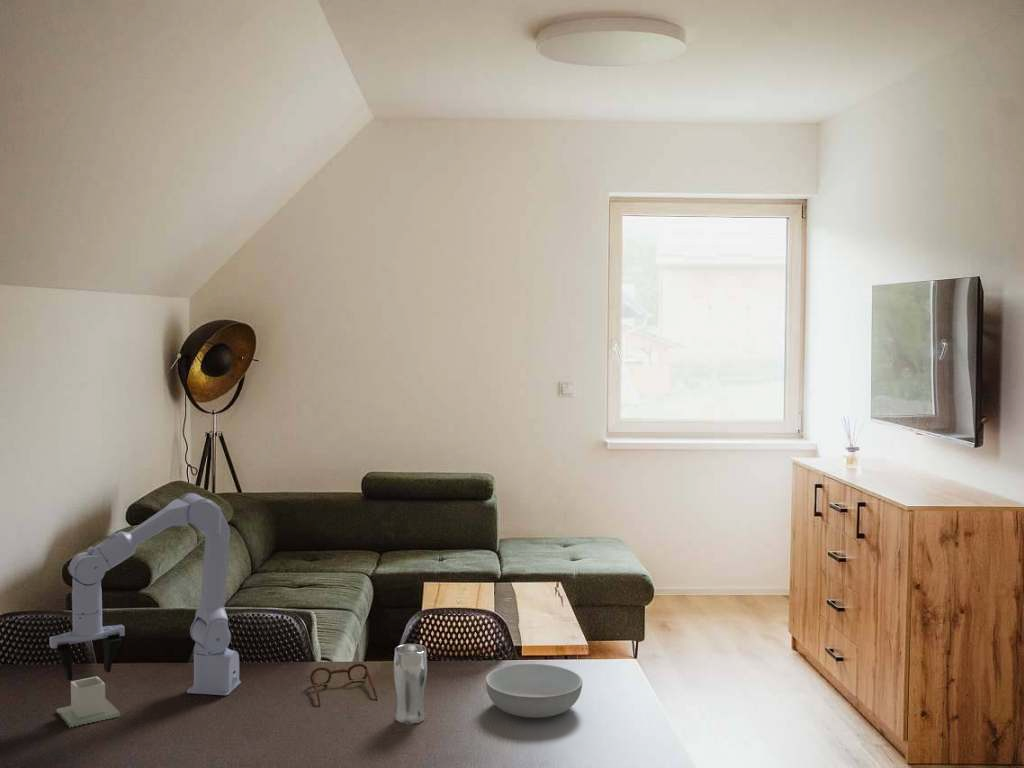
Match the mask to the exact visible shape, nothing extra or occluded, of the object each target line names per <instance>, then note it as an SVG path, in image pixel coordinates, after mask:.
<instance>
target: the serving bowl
mask: <svg viewBox="0 0 1024 768" xmlns="http://www.w3.org/2000/svg"><path fill="white" fill-rule="evenodd" d="M485 687H486V692H487V695H488V696H489V699H490V701H492V703H493V705H495V706H496V707H497V708H498V709H499V710H502V711H503V712H505V713H507V714H510V715H513V716H517V717H522V718H529V717H531V719H534V718H535V719H536V718H538V719H539V718H548V717H552V716H557V715H560V714H562V713H564V712H566V711H568V710H569V709H571V707H573V706H574V705H575V704H576V702H577V701H578V699H579V698H580V695H581V692H582V688H583V678H582V677H581V676H580V675H579V674H578V673H577V672H575V671H572V670H570V669H568V668H564V667H562V666H556V665H551V664H550V665H549V664H543V663H519V664H511V665H506V666H501V667H497V668H496V669H493V670H491V671H490V672H488V674H487V675H486V677H485Z"/></svg>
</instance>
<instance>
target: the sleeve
mask: <svg viewBox="0 0 1024 768" xmlns="http://www.w3.org/2000/svg"><path fill="white" fill-rule="evenodd" d="M105 698H106V683H105V682H104V681H103V680H102V679H101V678H100V677H99V676H92V677H91V676H90V677H88V678H80V679H78V680H77V679H75V680H70V706H71V710H72V711H73V712H74V713H75V714H76V716H77V717H78V718H80V717H84V716H89V715H93V714H98V713H102V712H106V706H105Z"/></svg>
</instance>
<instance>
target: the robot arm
mask: <svg viewBox="0 0 1024 768" xmlns="http://www.w3.org/2000/svg"><path fill="white" fill-rule="evenodd" d="M189 524H191V525H193V526H195V528H196V529H197V530H198V531H200V532H201V534H203V535H204V538H205V539H204V540H205V541H204V551H203V552H204V553H203V564H202V566H203V567H202V575H201V588H200V589H201V590H200V602H199V607H198V608H197V609H196V611H195V617H194V619H193V621H192V623H191V625H190V629H189V634H190V636H191V639H192V640H193V641H194V642H195V644H194V647H193V685H192V686H191V687H189V688H188V689H187V690H186V693H187V694H194V695H195V694H196V695H198V694H199V695H214V696H228V695H229V694H230V693H232V691H233V690H235V689H236V688H237V687H238V686H239V685H240V684H241V680H240V655H239V652H238V651H236V650H233V649H229V644H230V643H231V641H232V634H231V631H230V629H229V618H228V614H227V612H226V609H225V603H226V589H227V580H228V579H227V578H228V576H227V574H228V565H229V553H230V541H231V540H230V539H231V528H230V526H229V523H228V522H227V520H226V518H225V516H224V514H223V513H222V508H221V507H220V505H218V504H217V503H215V502H214V501H213V500H211V499H209V498H206V497H202V496H201V495H199V494H198V493H194V492H189V493H185V494H183V495H182V496H180V497H179V498H176V499H174V500H172V501H171V502H170V503H168V504H167V505H166V506H165V507H163V508H162V509H161V510H159V511H157V512H156V513H155V514H153V515H152V516H150V517H149V518H147V519H146V520H144V521H143V522H141V523H140V524H139V525H138V526H136V527H134V528H133V529H131V530H129V532H127V531H126V532H125V531H118V532H114V531H112V532H111V533H109V534H108V535H107V536H108V538H107V539H104V540H103V541H102V542H100V543H99V544H97V545H95V546H90V547H88V548H87V551H88V552H86V551H85V552H79V553H78V554H76V555H74V557H73V558H72V559H71V561H70V563H69V566H67V570H68V573H69V575H70V576H71V577H72V584H71V585H72V590H71V608H72V609H71V611H72V617H71V618H72V630H71V631H68V632H64V633H61V634H57V635H54V636H49V638H48V639H49V641H48V642H49V647H50V648H51V649H54V650H55V651H56V653H57V654H58V657H59V659H60V661H61V663H62V666H63V669H64V673H65V674H64V675H65V679H67V681H73V666H72V663H73V652H74V651H73V649H71V648H72V647H71V645H73V644H79V643H86V642H90V641H96V640H101V639H102V647H103V670H104V671H105V672H106V674H107V673H108V674H109V673H111V669H112V666H113V661H114V658H115V655H116V653H117V651H118V649H119V647H120V645H121V642H122V638H121V637H124V636H125V635H126V633H125V632H126V631H125V630H126V629H125V626H124V625H123V624H117V625H116V624H114V625H105V626H103V600H102V599H103V598H102V597H103V596H102V595H103V592H102V591H103V590H102V580H103V579H104V576H105V575H106V572H108V571H110V570H111V569H113V568H114V567H116V566H117V565H119V564H121V563H122V562H124V561H127V560H128V559H129V558H130V557H132V556H133V555H135V554H136V551H137V548H138V546H139V545H140V544H142V543H144V542H145V541H147V540H149V539H151V538H152V537H155V535H158V534H160V533H162V532H163V531H165V530H166V529H169V528H170V527H189Z"/></svg>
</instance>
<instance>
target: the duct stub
mask: <svg viewBox="0 0 1024 768" xmlns="http://www.w3.org/2000/svg"><path fill="white" fill-rule="evenodd" d="M105 706H106V712H102V713H98V714H93V715H89V716H84V717H80V718H78V717H77V716H76V714H75V713H74V712H73V711H72V710H71V705H67V706H63V707H59V708H56V714H57V715H58V714H59V715H58V716H59V717H60V718H61V719H62V720H64V721H65V722H66V723H65V722H64V721H63V722H64V723H65V724H66V725H67V727H68V726H69V727H68V728H69V729H72V728H75V727H74V726H76V727H80V726H79V725H81V726H83V725H82V724H85V725H88V724H87V723H90V724H93V723H92V722H94V723H98V722H102V720H103V721H107V720H110V719H115V718H119V717H121V712H120V711H119V710H118V709H117V707H115V706H114V705H113V704H112V703H111V701H110V700H109V699H107V698H106V697H105ZM106 719H107V720H106ZM97 721H98V722H97ZM71 727H72V728H71Z"/></svg>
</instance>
